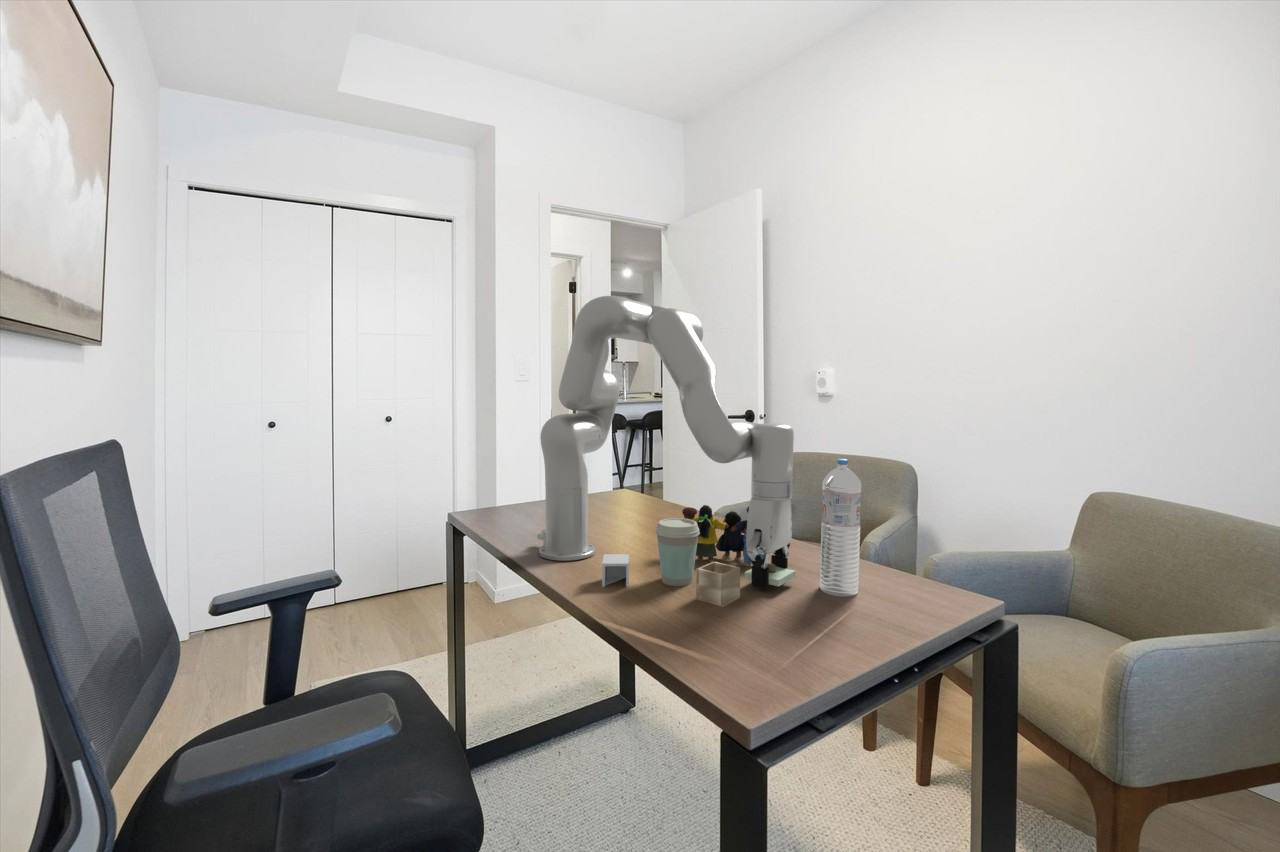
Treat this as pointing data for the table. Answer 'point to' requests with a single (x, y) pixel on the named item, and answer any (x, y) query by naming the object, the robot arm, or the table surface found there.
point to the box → (718, 583)
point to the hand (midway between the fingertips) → (769, 581)
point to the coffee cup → (677, 550)
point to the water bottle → (840, 532)
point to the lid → (775, 575)
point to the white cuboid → (615, 568)
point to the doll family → (727, 541)
